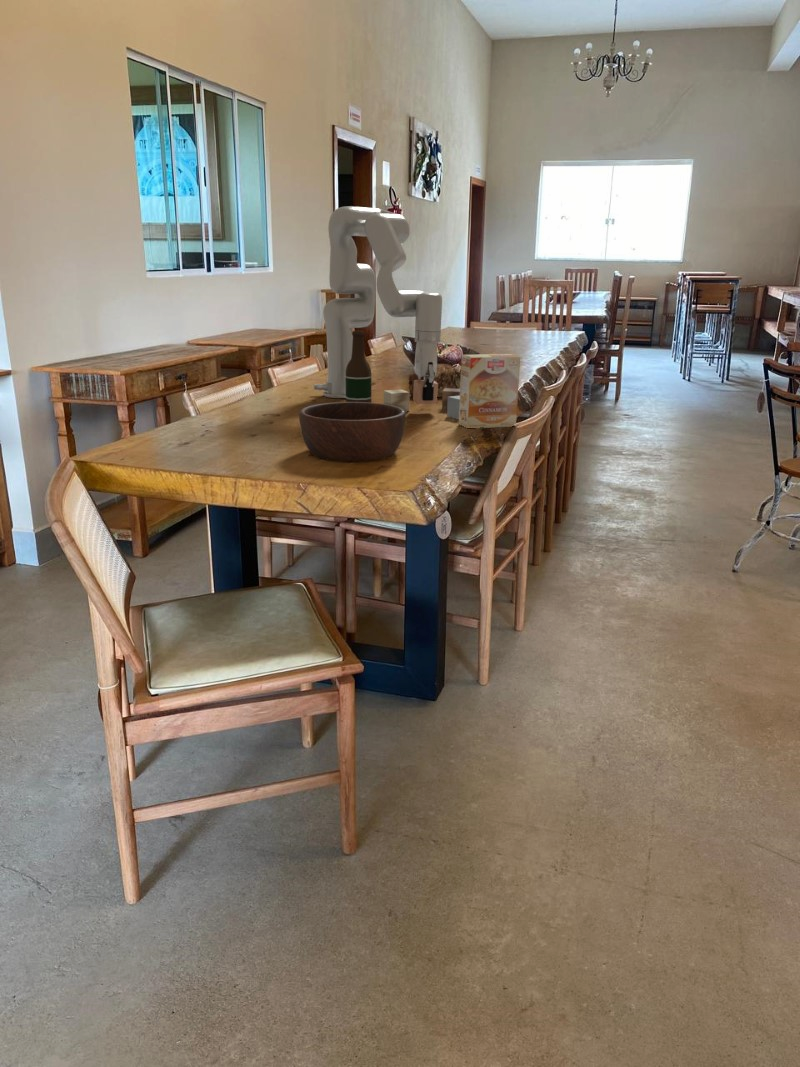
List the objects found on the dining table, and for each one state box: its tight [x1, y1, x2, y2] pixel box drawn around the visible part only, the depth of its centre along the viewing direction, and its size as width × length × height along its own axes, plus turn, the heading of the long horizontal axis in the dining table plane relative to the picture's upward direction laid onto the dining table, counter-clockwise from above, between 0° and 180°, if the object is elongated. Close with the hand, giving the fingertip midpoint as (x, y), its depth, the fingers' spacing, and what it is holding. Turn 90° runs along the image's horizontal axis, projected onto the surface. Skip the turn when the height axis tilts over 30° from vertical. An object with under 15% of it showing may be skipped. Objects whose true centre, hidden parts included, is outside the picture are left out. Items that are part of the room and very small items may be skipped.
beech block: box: [383, 389, 411, 413], centre depth 242 cm, size 6×6×6 cm
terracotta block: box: [412, 380, 438, 405], centre depth 237 cm, size 6×6×6 cm
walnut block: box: [441, 388, 460, 411], centre depth 246 cm, size 6×6×6 cm
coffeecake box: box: [458, 353, 521, 429], centre depth 219 cm, size 15×7×20 cm, turn 108°
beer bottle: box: [345, 330, 372, 403], centre depth 235 cm, size 8×8×24 cm
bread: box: [408, 363, 461, 398], centre depth 272 cm, size 19×11×10 cm, turn 145°
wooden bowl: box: [298, 401, 407, 463], centre depth 187 cm, size 25×25×10 cm
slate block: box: [446, 396, 460, 420], centre depth 233 cm, size 6×6×6 cm
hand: (425, 397), depth 237 cm, fingers closed on terracotta block, 6 cm apart
